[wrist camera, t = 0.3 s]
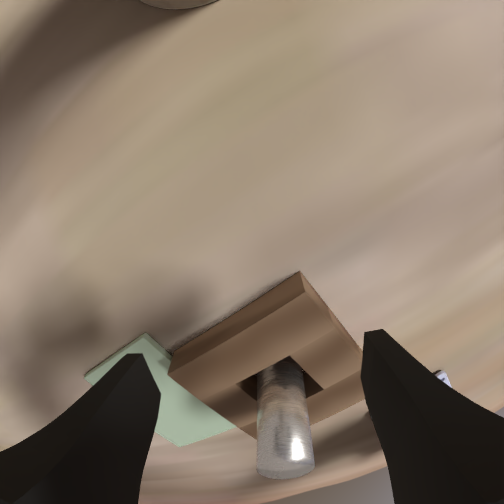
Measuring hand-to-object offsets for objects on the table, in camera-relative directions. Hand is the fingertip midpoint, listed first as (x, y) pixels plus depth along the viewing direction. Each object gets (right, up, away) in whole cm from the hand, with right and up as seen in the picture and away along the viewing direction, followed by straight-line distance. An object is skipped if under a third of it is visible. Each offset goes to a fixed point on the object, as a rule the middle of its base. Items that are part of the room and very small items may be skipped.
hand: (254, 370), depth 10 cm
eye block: (+2, -4, +13) cm, 14 cm away
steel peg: (+2, -4, +13) cm, 14 cm away
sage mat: (-8, -9, +15) cm, 19 cm away
